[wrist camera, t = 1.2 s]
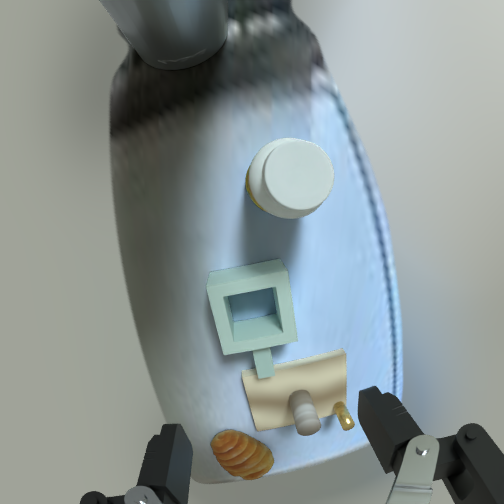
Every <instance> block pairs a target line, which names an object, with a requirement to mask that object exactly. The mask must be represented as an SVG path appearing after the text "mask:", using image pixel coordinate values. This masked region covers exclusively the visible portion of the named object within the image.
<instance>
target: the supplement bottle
mask: <svg viewBox="0 0 504 504" xmlns="http://www.w3.org/2000/svg"><path fill="white" fill-rule="evenodd" d="M245 184H246V189H247V192H248V195H249V197H250V198H251V200H252V201H253V202H254V203H255V205H256V206H258V207H259V208H260V209H262V210H264V211H266V212H268V213H270V214H272V215H274V216H277V217H280V218H286V219H296V218H301V217H304V216H307V215H309V214H311V213H312V212H314V211H315V210H316V209H317V208H318V207H319V206H320V205H321V204H322V203H323V201H324V200H325V199H326V198H327V197H328V195H329V194H330V192H331V190H332V187H333V184H334V169H333V165H332V163H331V160H330V158H329V157H328V155H327V154H326V153H325V152H324V150H322V149H321V148H320V147H319V146H317V145H316V144H314V143H312V142H309V141H305V140H300V139H296V138H282V139H277V140H274V141H272V142H270V143H268V144H266V145H265V146H264V147H262V148H261V149H260V150H259V151H258V153H257V154H256V155H255V157H254V158H253V160H252V162H251V165H250V166H249V168H248V171H247V174H246V180H245Z"/></svg>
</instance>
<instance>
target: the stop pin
mask: <svg viewBox="0 0 504 504" xmlns="http://www.w3.org/2000/svg"><path fill="white" fill-rule="evenodd" d="M333 408H334V410H335V413H336V415H337V417H338V419H339V421H340V424H341V426H342V428H343V430H345V431H347V430H350V429H352V428H353V427H354V425H355V423H354V421H353V419H352V417H351V415H350V413H349V411H348V409H347V407H346V406H345V404H344V402H343V401H339V402H337V403H335V404H334V406H333Z"/></svg>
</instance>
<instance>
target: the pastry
mask: <svg viewBox="0 0 504 504" xmlns="http://www.w3.org/2000/svg"><path fill="white" fill-rule="evenodd" d="M210 445H211V447H212V449H213V454H214V455H215V456H216V458H217V461H218V462H219V463H220V465H221V466H222V467H223V468H224V469H225V470H226V471H228V472H229V473H230V474H231V475H233V476H240V477H242V478H243V479H245V480H254V479H258V478H260V477H262V476H263V475H264V474H266V473H267V472H268V471H269V470H270V469H271V467H272V466H273V463H274V458H273V456H272V452H271V451H270V449H269V448H268V447H267V446H266V445H265V444H263V443H261V442H260V441H258V440H256V439H255V438H252V437H250V436H249V435H247V434H245V433H243V432H239V431H235V430H225V431H223V432H220V433H218V434H216V435H215V437H214V438H213V440H212V442H211V444H210Z"/></svg>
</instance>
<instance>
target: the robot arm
mask: <svg viewBox="0 0 504 504" xmlns="http://www.w3.org/2000/svg"><path fill="white" fill-rule="evenodd" d="M99 1H100V2H101V3H102V5H103V6H104V7H105V9H106V10H107V12H108V13H109V14H110V16H111V17H112V18H113V20H114V21H115V22H116V24H117V25H118V27H119V28H120V29H121V31H122V32H123V33H124V35H125V36H126V38H127V39H128V41H129V42H130V43H131V45H132V46H133V47H134V49H135V50H136V51H137V53H138V54H139V56H140V57H141V58H142V60H143V61H145V62H146V63H147V64H149V65H150V66H153V67H155V68H158V69H164V70H179V69H185V68H189V67H192V66H195V65H198V64H200V63H202V62H204V61H206V60H207V59H209V58H210V57H211V56H213V55H214V54H215V53H216V52H217V51H218V50H219V49H220V48H221V47H222V45H223V44H224V42H225V40H226V37H227V34H228V0H99ZM358 419H359V422H360V425H361V426H362V428H363V430H364V432H365V434H366V436H367V438H368V440H369V442H370V444H371V446H372V448H373V450H374V451H375V454H376V456H377V458H378V460H379V461H380V463H381V465H382V467H383V469H384V471H385V473H386V474H387V473H389V472H392V471H394V473H395V475H396V477H395V480H394V483H393V486H392V488H391V491H390V494H389V496H388V499H387V501H386V504H429V503H430V500H431V496H432V489H431V485H432V481H435V480H439V479H442V480H443V482H444V484H445V486H446V488H447V490H448V491H449V493H450V495H451V497H452V499H453V501H454V503H455V504H504V454H503V453H502V452H501V450H500V449H499V448H498V446H497V445H496V444H495V443H494V441H493V440H492V439H491V437H490V436H489V435H488V434H487V432H486V431H485V430H484V429H483V428H482V426H480V425H478V424H474V423H471V424H466V425H464V426H463V427H461V428H460V429H459V431H458V433H457V434H456V435H452V436H448V437H444V438H434V437H433V436H430V435H425V434H424V433H423V432H422V431H421V429H420V428H419V427H418V425H417V424H416V422H415V421H414V420H413V418H412V417H411V416H410V414H409V413H408V412H407V410H406V409H405V407H404V406H403V405H402V403H401V402H400V401H399V399H398V398H397V397H396V396H394V395H392V394H391V393H389V392H387V393H384V394H382V393H381V392H380V390H379V389H378V388H377V387H376V386H372V387H370V388H367V389H364V390H361V391H359V399H358ZM192 457H193V450H192V445H191V443H190V441H189V439H188V437H187V435H186V433H185V431H184V429H183V427H182V426H181V424H164V425H163V426H162V429H161V433H160V435H154V436H153V438H152V439H151V440H150V441H149V442H148V445H147V449H146V453H145V456H144V460H143V463H142V467H141V471H140V475H139V478H138V482H137V485H136V487H133V488H131V489H130V490H128V491H127V493H126V494H125V495H122V496H114V497H105V496H104V495H103V494H102V493H100V492H96V491H92V492H88V493H86V494H85V495H84V496H83V497H82V498H81V501H80V504H187V503H188V493H189V484H190V475H191V466H192Z"/></svg>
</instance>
